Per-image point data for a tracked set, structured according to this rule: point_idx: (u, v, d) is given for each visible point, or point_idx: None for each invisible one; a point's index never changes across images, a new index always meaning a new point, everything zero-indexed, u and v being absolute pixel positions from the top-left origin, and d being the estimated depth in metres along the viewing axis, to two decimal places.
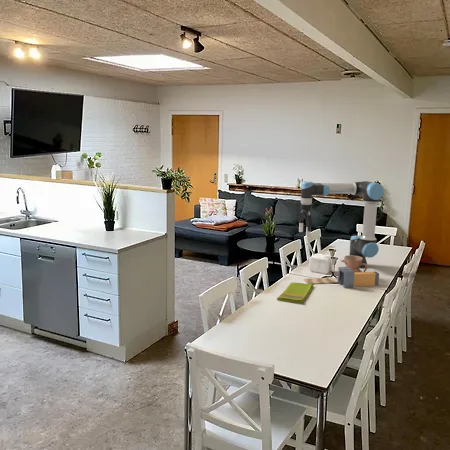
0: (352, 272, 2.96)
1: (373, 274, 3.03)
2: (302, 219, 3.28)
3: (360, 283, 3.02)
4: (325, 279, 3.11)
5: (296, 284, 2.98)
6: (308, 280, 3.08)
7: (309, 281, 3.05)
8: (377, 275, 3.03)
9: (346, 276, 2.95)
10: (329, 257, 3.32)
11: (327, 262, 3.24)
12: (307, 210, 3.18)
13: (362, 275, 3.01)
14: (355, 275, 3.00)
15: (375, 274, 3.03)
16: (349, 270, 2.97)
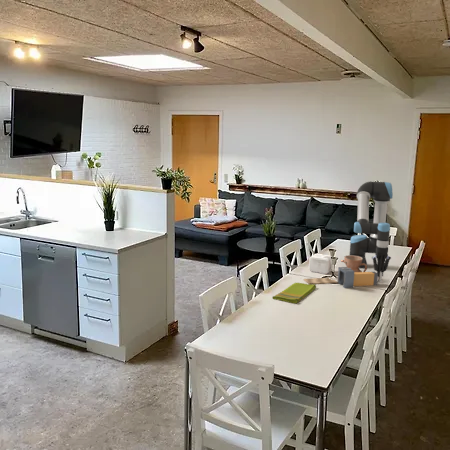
0: (352, 272, 2.96)
1: (372, 274, 3.02)
2: (381, 265, 3.05)
3: (359, 283, 3.02)
4: (325, 279, 3.11)
5: (299, 284, 2.97)
6: (308, 280, 3.08)
7: (309, 281, 3.05)
8: (376, 275, 3.03)
9: (346, 276, 2.95)
10: (329, 257, 3.32)
11: (327, 262, 3.24)
12: (376, 252, 3.03)
13: (361, 275, 3.01)
14: (354, 275, 3.00)
15: (374, 274, 3.03)
16: (349, 270, 2.97)
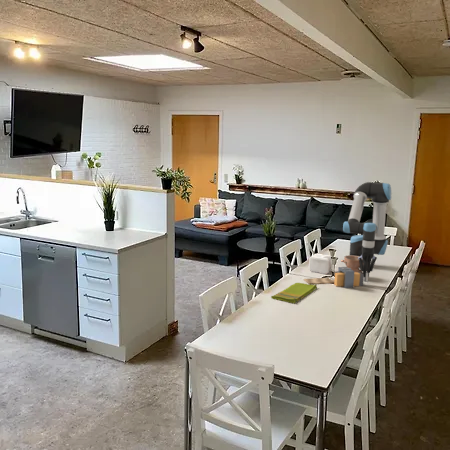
0: (352, 272, 2.96)
1: (357, 275, 3.00)
2: (367, 265, 3.03)
3: None
4: (325, 279, 3.11)
5: (299, 284, 2.97)
6: (308, 280, 3.08)
7: (309, 281, 3.05)
8: (362, 276, 3.01)
9: (346, 276, 2.95)
10: (329, 257, 3.32)
11: (327, 262, 3.24)
12: (362, 252, 3.00)
13: None
14: (339, 275, 2.98)
15: (359, 275, 3.00)
16: (349, 270, 2.97)
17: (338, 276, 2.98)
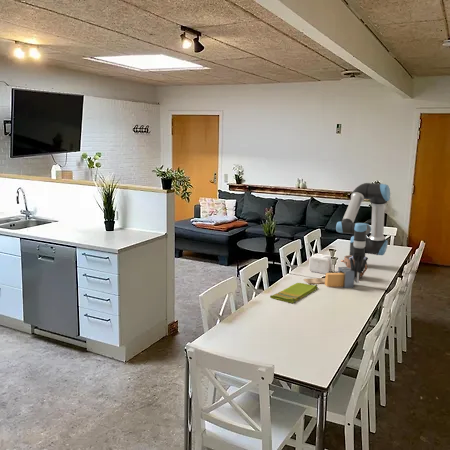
0: (352, 272, 2.96)
1: None
2: (358, 266, 3.01)
3: (335, 283, 2.99)
4: None
5: (300, 284, 2.97)
6: (308, 280, 3.08)
7: (309, 281, 3.05)
8: None
9: (346, 276, 2.95)
10: (329, 257, 3.32)
11: (327, 262, 3.24)
12: (353, 253, 2.99)
13: (336, 276, 2.98)
14: (329, 275, 2.97)
15: None
16: (349, 270, 2.97)
17: (328, 276, 2.97)
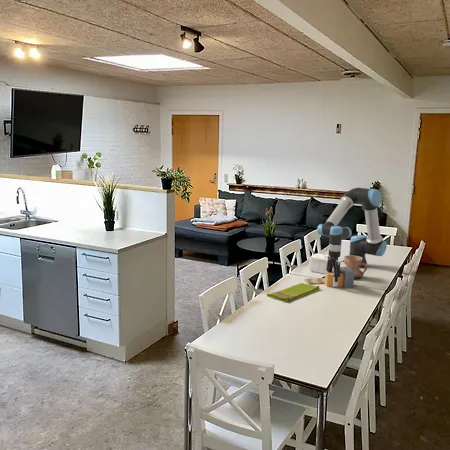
0: (352, 272, 2.96)
1: None
2: (331, 267, 3.02)
3: None
4: None
5: (303, 285, 2.96)
6: (308, 280, 3.08)
7: (309, 281, 3.05)
8: None
9: (346, 276, 2.95)
10: None
11: None
12: (336, 257, 2.93)
13: None
14: (329, 275, 2.97)
15: None
16: (349, 270, 2.97)
17: (328, 276, 2.97)
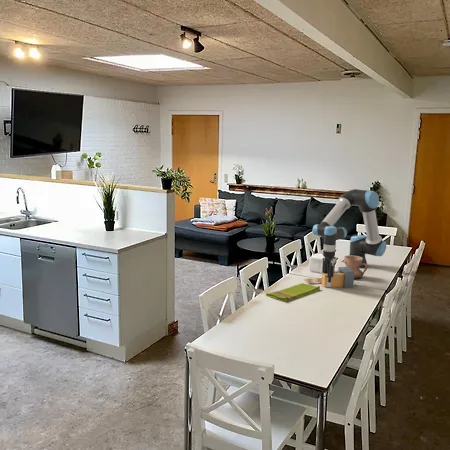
0: (352, 272, 2.96)
1: None
2: (326, 269, 2.99)
3: (332, 284, 2.98)
4: None
5: (303, 285, 2.96)
6: (308, 280, 3.08)
7: (309, 281, 3.05)
8: None
9: (346, 276, 2.95)
10: None
11: None
12: (331, 258, 2.92)
13: (333, 276, 2.97)
14: (326, 276, 2.96)
15: None
16: (349, 270, 2.97)
17: (326, 277, 2.96)
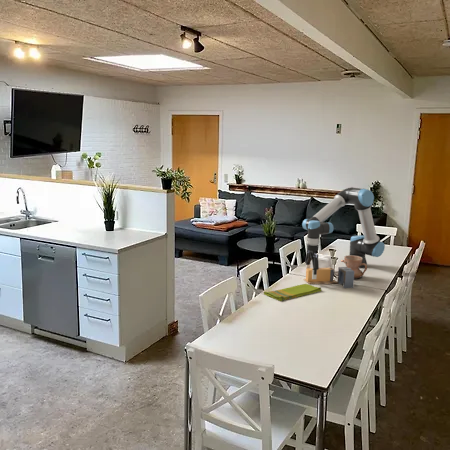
0: (352, 272, 2.96)
1: (328, 270, 3.07)
2: (309, 260, 3.09)
3: (315, 279, 3.06)
4: None
5: (306, 286, 2.95)
6: None
7: None
8: (332, 271, 3.07)
9: (346, 276, 2.95)
10: (329, 257, 3.32)
11: (327, 262, 3.24)
12: (314, 251, 3.00)
13: (317, 271, 3.05)
14: (310, 271, 3.04)
15: (330, 270, 3.07)
16: (349, 270, 2.97)
17: (309, 272, 3.04)
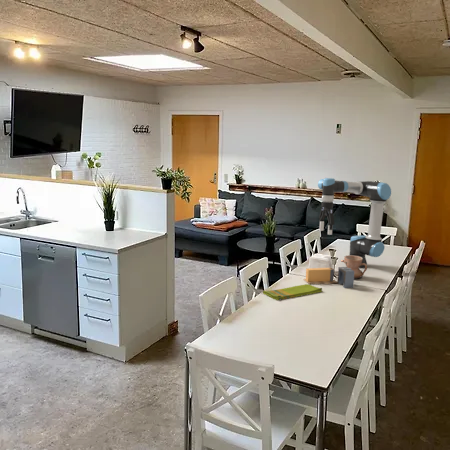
0: (352, 272, 2.96)
1: (328, 270, 3.07)
2: (323, 217, 3.15)
3: (315, 279, 3.06)
4: None
5: (307, 286, 2.95)
6: None
7: None
8: (332, 271, 3.07)
9: (346, 276, 2.95)
10: (329, 257, 3.32)
11: (327, 262, 3.24)
12: (329, 208, 3.05)
13: (317, 271, 3.05)
14: (310, 271, 3.04)
15: (330, 270, 3.07)
16: (349, 270, 2.97)
17: (309, 272, 3.04)
